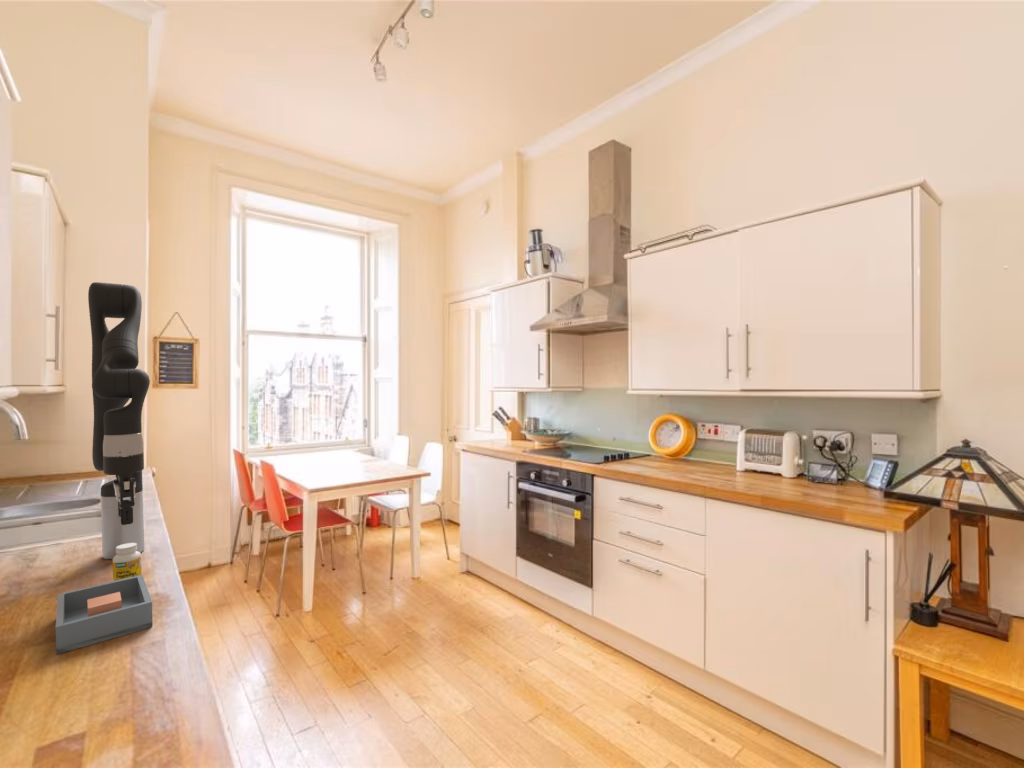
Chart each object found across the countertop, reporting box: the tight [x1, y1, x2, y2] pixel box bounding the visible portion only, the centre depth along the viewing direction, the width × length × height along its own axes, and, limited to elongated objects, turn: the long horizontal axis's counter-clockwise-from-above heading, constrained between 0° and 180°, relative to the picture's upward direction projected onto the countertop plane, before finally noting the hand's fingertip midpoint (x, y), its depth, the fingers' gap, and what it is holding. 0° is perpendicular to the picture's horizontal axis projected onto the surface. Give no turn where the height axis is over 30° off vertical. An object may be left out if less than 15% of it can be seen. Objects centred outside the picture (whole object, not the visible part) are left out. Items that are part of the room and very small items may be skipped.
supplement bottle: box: [112, 543, 143, 581], centre depth 116 cm, size 5×5×10 cm
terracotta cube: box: [87, 592, 122, 617], centre depth 95 cm, size 5×5×5 cm
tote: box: [55, 574, 153, 656], centre depth 98 cm, size 18×14×5 cm
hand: (125, 520), depth 116 cm, fingers open, 8 cm apart
